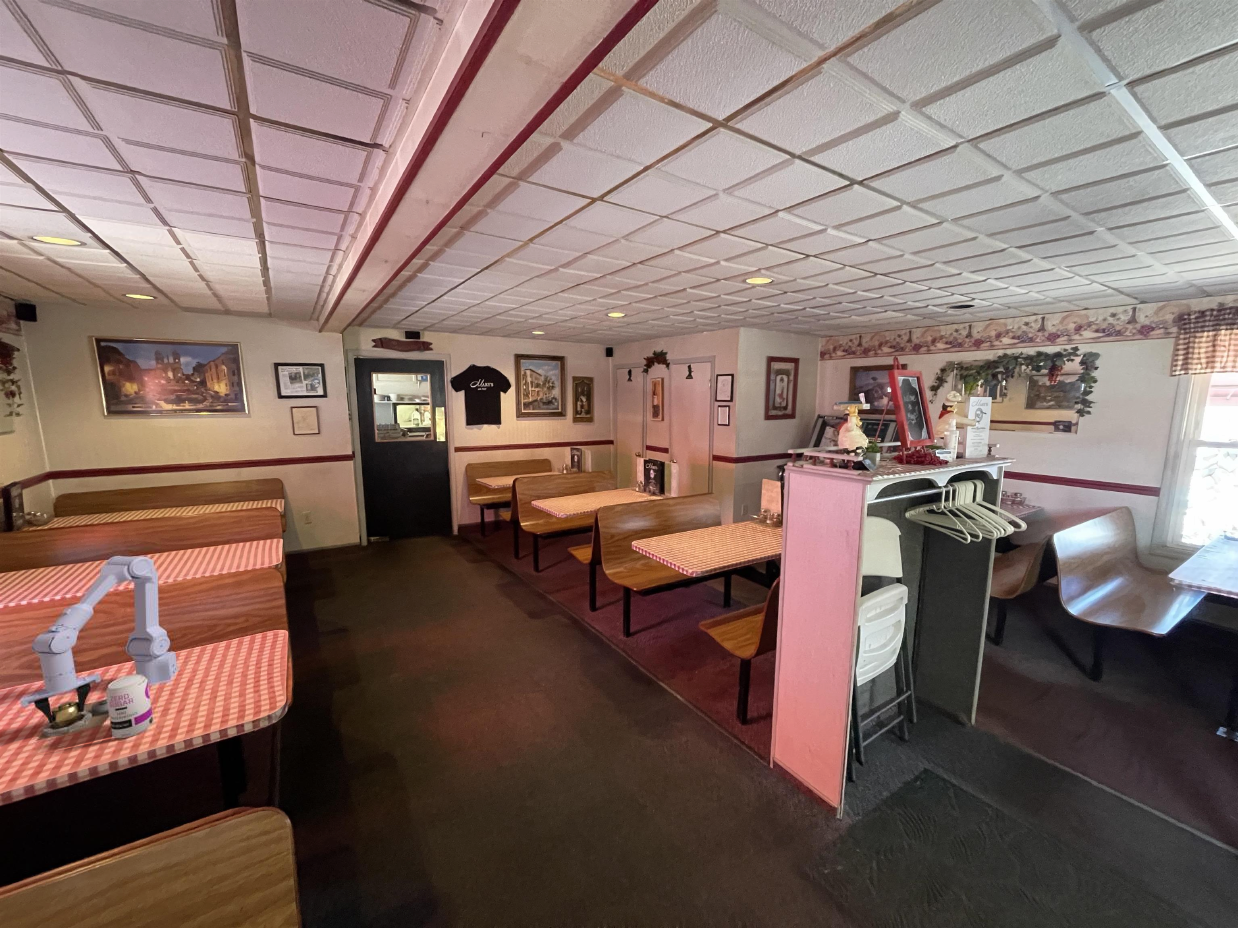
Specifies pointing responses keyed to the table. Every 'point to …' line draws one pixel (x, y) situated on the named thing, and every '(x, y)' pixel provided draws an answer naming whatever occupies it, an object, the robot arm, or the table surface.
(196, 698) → the table surface
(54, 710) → the brass knob
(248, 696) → the table surface
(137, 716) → the supplement can
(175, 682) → the table surface
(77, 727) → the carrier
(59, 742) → the table surface
